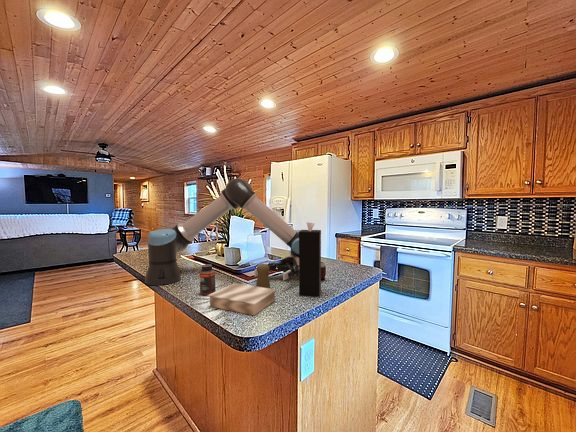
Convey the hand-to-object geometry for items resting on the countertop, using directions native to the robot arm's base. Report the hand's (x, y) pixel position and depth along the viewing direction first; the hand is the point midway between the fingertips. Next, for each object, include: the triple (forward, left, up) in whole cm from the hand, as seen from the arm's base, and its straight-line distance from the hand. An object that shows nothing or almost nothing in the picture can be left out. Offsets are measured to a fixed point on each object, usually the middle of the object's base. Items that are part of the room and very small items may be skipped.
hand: (269, 275), depth 110 cm
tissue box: (+17, +2, -6) cm, 19 cm away
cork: (-1, -4, -6) cm, 7 cm away
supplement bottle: (-20, -15, -6) cm, 25 cm away
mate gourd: (+14, +20, -6) cm, 26 cm away
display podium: (-1, -18, -6) cm, 19 cm away
